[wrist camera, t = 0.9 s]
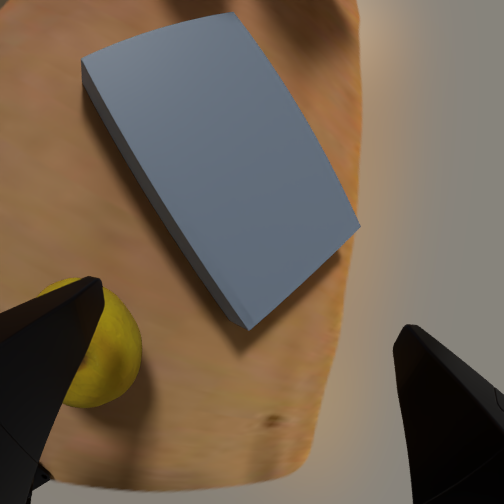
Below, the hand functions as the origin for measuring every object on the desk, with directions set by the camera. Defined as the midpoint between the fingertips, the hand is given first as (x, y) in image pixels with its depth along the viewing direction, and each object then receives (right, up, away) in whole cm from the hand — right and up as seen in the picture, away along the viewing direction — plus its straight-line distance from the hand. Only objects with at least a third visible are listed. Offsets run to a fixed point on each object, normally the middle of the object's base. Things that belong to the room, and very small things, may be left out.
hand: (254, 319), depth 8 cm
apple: (-11, -3, +8) cm, 14 cm away
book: (-2, +9, +12) cm, 15 cm away
